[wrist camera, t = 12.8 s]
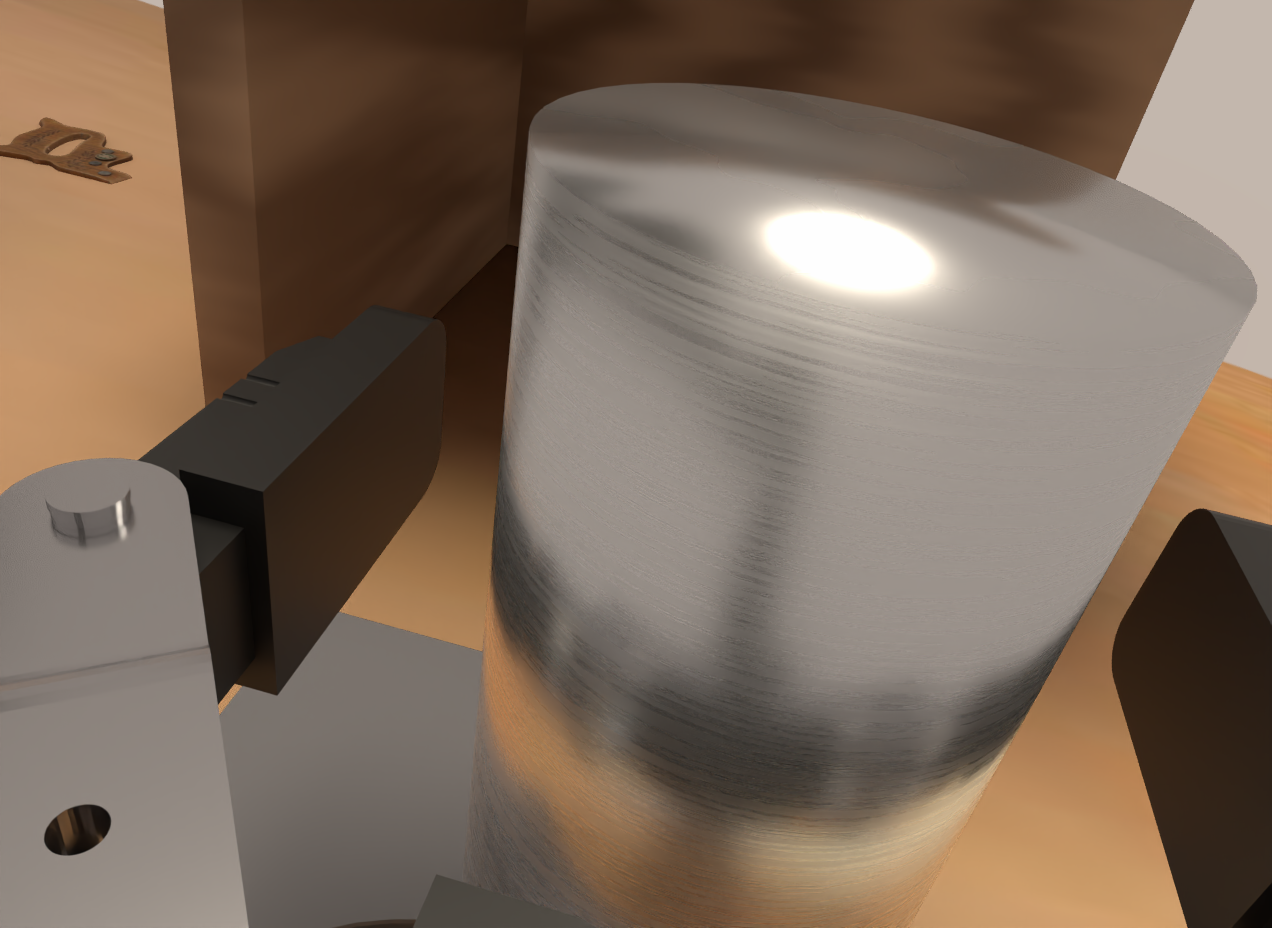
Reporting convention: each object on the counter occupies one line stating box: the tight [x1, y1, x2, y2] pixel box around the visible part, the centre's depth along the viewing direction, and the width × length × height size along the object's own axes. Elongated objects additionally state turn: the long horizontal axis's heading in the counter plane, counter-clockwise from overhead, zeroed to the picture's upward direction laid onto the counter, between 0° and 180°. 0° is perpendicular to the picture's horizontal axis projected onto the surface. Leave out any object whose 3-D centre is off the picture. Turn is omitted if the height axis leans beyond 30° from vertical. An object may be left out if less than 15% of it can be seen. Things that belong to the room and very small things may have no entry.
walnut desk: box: [163, 0, 1194, 406], centre depth 23 cm, size 21×18×18 cm
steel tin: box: [462, 83, 1257, 928], centre depth 10 cm, size 5×5×11 cm
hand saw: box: [0, 118, 133, 184], centre depth 36 cm, size 24×5×1 cm, turn 76°
